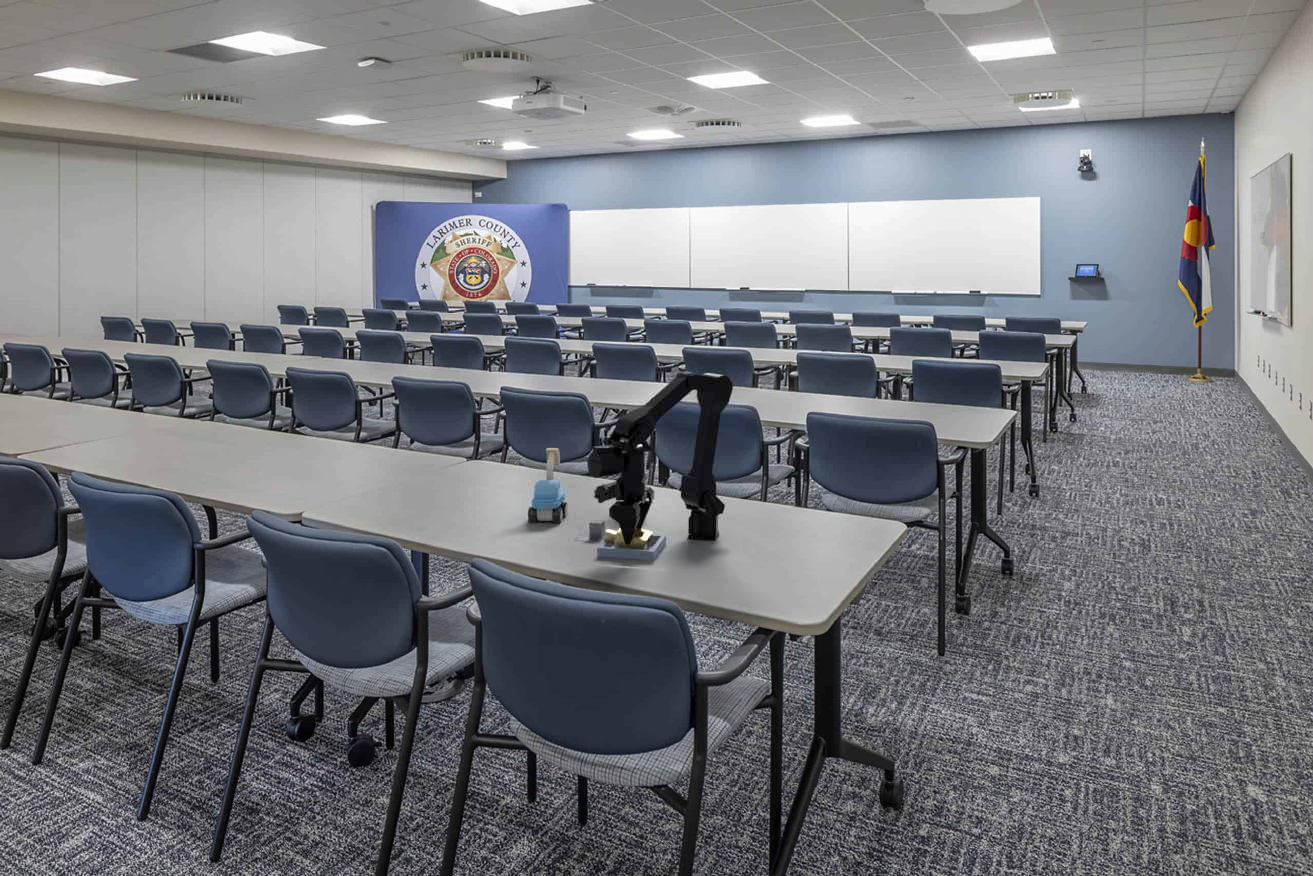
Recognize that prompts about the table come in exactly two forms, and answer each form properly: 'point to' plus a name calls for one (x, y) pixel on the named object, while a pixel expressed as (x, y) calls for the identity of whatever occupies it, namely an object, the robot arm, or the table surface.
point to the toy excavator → (548, 494)
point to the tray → (633, 550)
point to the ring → (638, 541)
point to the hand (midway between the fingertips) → (632, 538)
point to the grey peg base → (593, 532)
